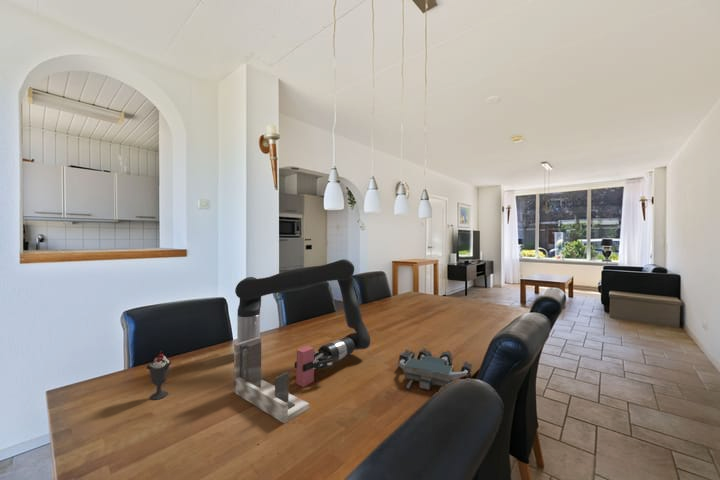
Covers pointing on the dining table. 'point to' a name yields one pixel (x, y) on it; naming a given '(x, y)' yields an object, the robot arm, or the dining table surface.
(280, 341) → the dining table surface
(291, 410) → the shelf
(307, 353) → the book
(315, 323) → the dining table surface
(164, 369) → the sundae
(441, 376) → the toy
